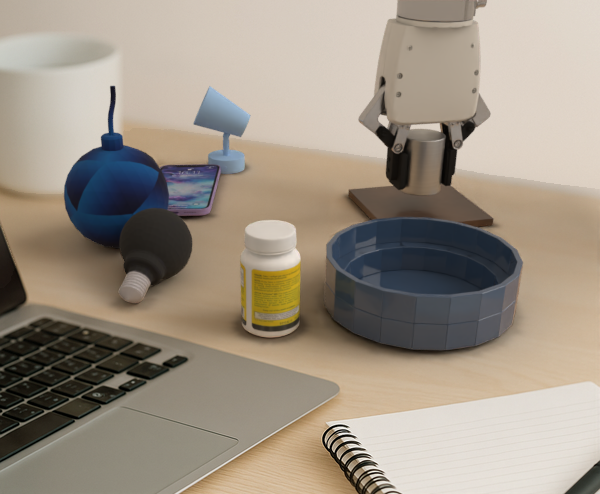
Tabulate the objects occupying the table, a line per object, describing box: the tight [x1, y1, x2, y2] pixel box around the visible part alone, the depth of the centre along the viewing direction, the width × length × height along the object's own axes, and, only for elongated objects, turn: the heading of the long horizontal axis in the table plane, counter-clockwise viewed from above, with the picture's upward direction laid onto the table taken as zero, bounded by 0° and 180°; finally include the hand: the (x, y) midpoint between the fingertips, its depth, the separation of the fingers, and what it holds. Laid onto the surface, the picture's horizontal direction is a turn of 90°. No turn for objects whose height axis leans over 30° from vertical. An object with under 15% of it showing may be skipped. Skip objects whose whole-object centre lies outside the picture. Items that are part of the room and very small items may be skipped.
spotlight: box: [192, 85, 251, 175], centre depth 100 cm, size 5×10×7 cm
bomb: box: [63, 85, 169, 249], centre depth 78 cm, size 10×11×15 cm
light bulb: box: [118, 208, 193, 304], centre depth 72 cm, size 6×6×10 cm
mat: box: [347, 183, 494, 228], centre depth 91 cm, size 12×12×1 cm
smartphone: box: [159, 163, 221, 217], centre depth 94 cm, size 7×1×15 cm
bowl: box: [324, 217, 524, 351], centre depth 70 cm, size 16×16×5 cm
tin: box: [400, 128, 446, 196], centre depth 88 cm, size 5×5×6 cm
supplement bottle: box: [239, 219, 302, 338], centre depth 65 cm, size 5×5×8 cm
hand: (419, 182), depth 89 cm, fingers closed on tin, 4 cm apart
